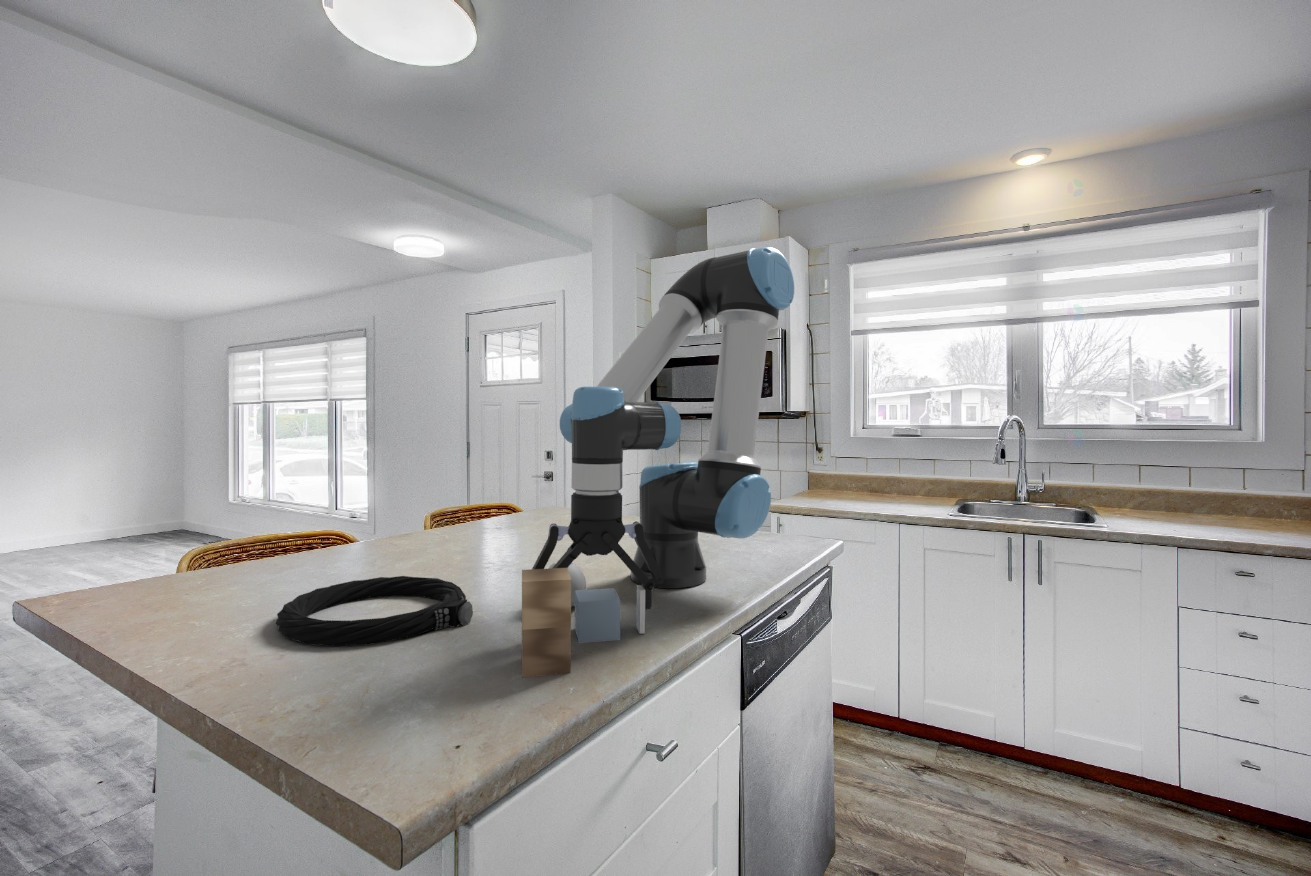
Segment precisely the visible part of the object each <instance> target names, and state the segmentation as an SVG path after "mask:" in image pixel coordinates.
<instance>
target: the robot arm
mask: <svg viewBox="0 0 1311 876" xmlns="http://www.w3.org/2000/svg"><path fill="white" fill-rule="evenodd" d="M794 279H795V278H794V276H793V271H792V269H791V267H790V265H789V261H788V260H787V258H786V257H785V256H784V254H783V253H782V252H780V250H779V249H776V248H774V247H772V246H771V247H770V246H765V247H758V248H756V247H753V248H750V249H749V250H744V251H739V252H735V253H731V254H725V255H721V256H717V257H716V256H715V257H714V256H713V257H710V258H706V259H705V260H702V261H700V262H699V263H697V264H695V265H694V266H692V267H691V268H690V269H688V270H687V271H686V272H684V273H683V274H682V276H680V278H678V279H677V280H676V281H675V282H674V283H673V284H672V286H670V287H669V289H667V291H666V292H665V293H664V295H663V296H662V297H661V298H660V300H659V301H658V310H657V311H656V313H655V314H654V315H653V316H652V317H651V319H650V320H649V321H648V323H647V324H646V325H645V326H644V328H643V329H642V330H641V331H640V332H639V334H637V336H636V337H635V339H634V340H633V341H632V342H631V343H630V345H628V347H627V348H626V349H625V351H624V352H623V353H622V354H621V356H620V357H619V358H618V360H616V362H615V364H614V365H612V367H611V368H610V370H609V371H608V372H607V373H606V374H605V376H604V377H603V378H602V379H601V380H600V382H599V383H598V384H597V385H596V386H580V387H577V388H576V389H575V390H574V391H573V396H572V403H571V404H569V405H567V406H566V407H565V408H564V409H563V410H562V412H561V414H560V416H559V417H560V418H559V429H560V432H561V433H560V434H561V435H562V436H563V438H564V439H565V441H567V442H569V443H570V444H571V485H570V486H571V487H570V488H571V490H574V491H575V492H573V493H572V494H571V495H570V497H571V498H570V502H571V503H570V522H569V525H568V526H566V525H557V524H556V523H551V524H549V528H548V537H547V539H546V541H545V543H544V545H543V547H542V549H541V551H540V552H539V554H538V556H537V559H536V560H535V562H534V564H533V567H532V568H531V569H546V566H547V564H548V562H549V560H550V558H551V556H552V554H553V553H554V550H555V549H556V546H557V543H558V542H560V541H562V540H563V538H564V537H565V535H568V537H569V538H570V539H571V541H572V543H571V544H570V545H569V546H568V548H567V549H566V551H565V552H564V554H563V555H561V557H560V558H559V559H558V560H557V562H556V563H555V565H554V566H553V568H568V567H569V565H570V564H571V563H573V562H574V561H575V560H576V559H578V558H579V556H580V555H581V554H583V555H585V556H587V557H589V556H596V555H599V556H608V554H610V553H612V552H614V553H615V555H616V556H617V557H618V558H619V559H620V560H621V561H622V563H624V565H625V566H626V567H627V568H628V569H629V570H630V580H632V581H633V582H634V583H636V584H638V585H636V617H635V618H636V622H635V624H636V626H635V627H636V630H637V631H638V633H639V634H645V633H646V632H645V631H646V610H651V609H652V605H653V602H652V601H653V600H652V599H653V590H654V588H659V589H680V588H681V589H682V588H687V587H688V588H689V587H694V586H699V585H701V584H704V583H705V582H706V580H707V566H706V562H705V560H704V556H703V553H702V550H701V546H700V543H699V533H702V534H708V535H712V536H713V535H714V536H719V537H721V538H726V539H731V538H733V539H747V538H750V537H752V536H753V535H754V534H756V533H757V532H758V531H759V529H760V528H762V527H763V525H764V523H765V521H767V520H766V519H767V517H768V514H769V512H770V508H771V502H772V492H771V490H770V484H769V482H768V481H767V479H766V478H764V477H763V476H761V471H762V467H761V464H760V463H759V462H758V461H757V460H756V458H755V450H756V443H757V441H756V440H757V432H758V423H759V417H760V416H759V415H760V406H761V397H762V391H763V382H764V381H763V380H764V373H765V364H766V354H767V347H768V337H769V331H771V330H773V329H774V328H775V327H776V326H778V322H779V314H780V311H784V310H785V309H787V308H789V306H791V303H793V301H794V300H793V299H794V297H795V296H794V295H795V280H794ZM714 319H716V321H717V322H718V323H719V324H720V326H721V327H722V333H721V341H720V350H719V357H718V365H717V371H716V372H717V373H716V381H715V390H714V396H713V404H712V405H713V406H712V414H711V423H710V429H709V438H708V445H707V451H706V452H705V453H704V454H703V455H702V456H701V457H700V458H698V461H697V462H696V461H694V462H679V463H669V464H659V465H658V464H657V465H649V466H646V467H644V468H643V469H642V470H641V472H640V483H639V486H638V487H639V488H638V489H639V521H633V523H629V524H624V523H623V495H622V493H621V492H620V491H621V490H622V489H623V460H624V451H627V450H628V451H630V450H631V451H635V450H636V451H638V450H640V451H641V450H643V451H644V450H645V451H646V450H654V451H659V450H661V449H668V448H671V447H673V446H675V444H676V443H677V442H678V440H679V438H680V436H681V433H682V419H681V416H680V414H679V412H678V411H677V409H676V408H675V407H674V406H673V405H670V404H667V403H662V402H659V401H656V402H654V401H653V402H647V401H646V402H644V401H643V402H641V401H639V400H640V399H641V397H642V396H643V395H644V394H645V392H646V391H647V389H648V388H649V387H650V386H651V385H652V383H653V382H654V380H655V379H656V378H657V377H658V375H659V374H660V372H661V371H662V370H663V368H664V367H665V366H666V365H667V363H668V362H669V360H670V359H671V358H672V356H673V355H674V354H675V353H676V351H677V350H678V349H679V348H680V346H681V344H683V342H684V341H685V339H686V338H687V337H688V335H689V334H694V333H696V332H697V331H698V330H700V328H701V327H702V325H703V324H705V323H706V322H708V321H710V320H714ZM625 534H628V536H629V538H631V539H633V540H634V541H635V544H636V546H637V548H636V550H635V554H634V557H633V559H632V558H631V556H630V555H629V554H628V553H627V551H625V549H623V546H621V545H620V544H619V543H620V541H621V539H623V537H624V536H625Z"/></svg>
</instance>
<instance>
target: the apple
mask: <svg viewBox="0 0 1311 876" xmlns="http://www.w3.org/2000/svg"><path fill="white" fill-rule="evenodd" d="M555 564H556V563H555V562H554V563H552V564H550V566H549V567H548V568H547V569H551V568H553V566H554V565H555ZM568 572H569V575H570V578H571V608H572V607H575V590H587V579H586V576H585V574H584V572H583V570H582V569H581V567H579V565H577V564H576V563H573V562H572V563H571V564H570V565H569V567H568Z"/></svg>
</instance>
